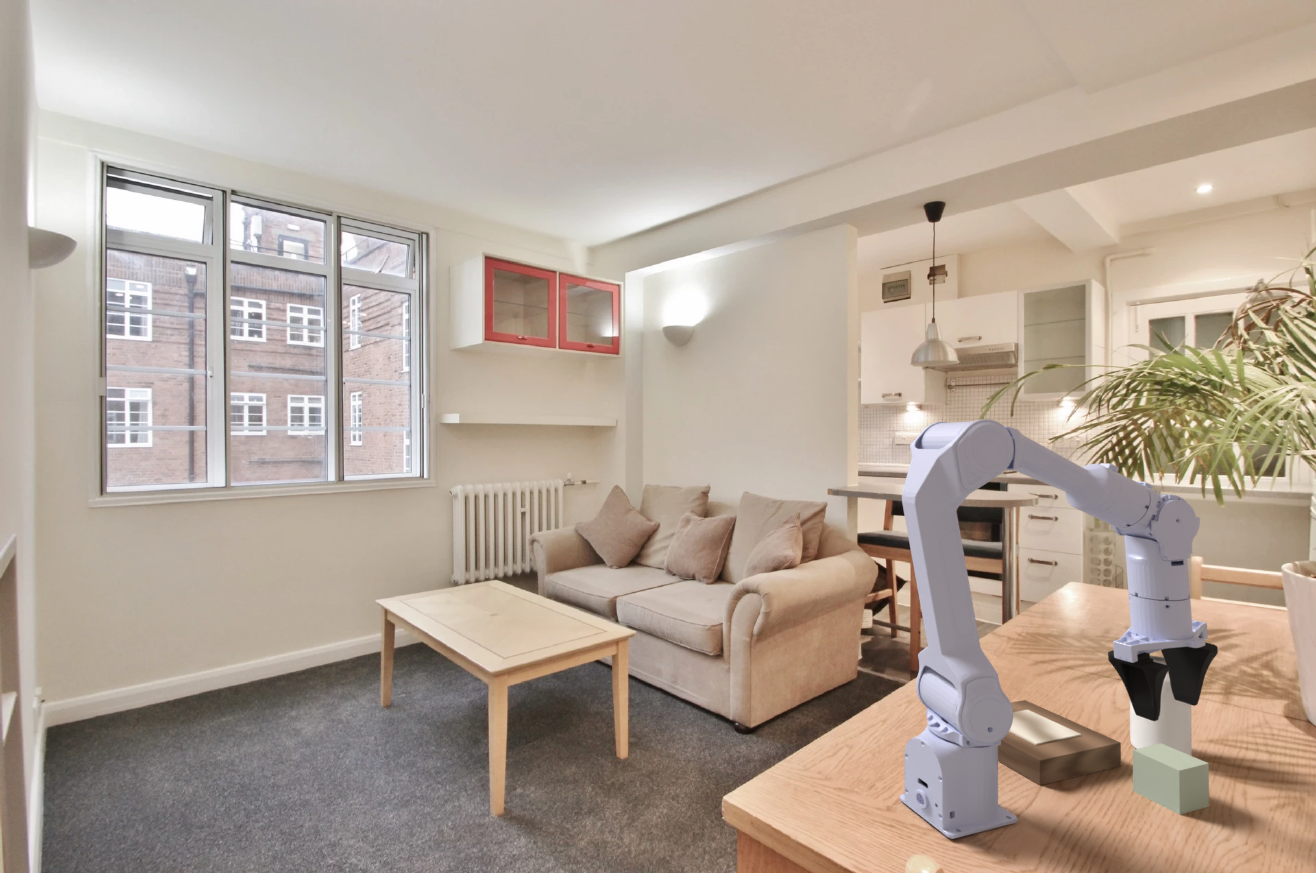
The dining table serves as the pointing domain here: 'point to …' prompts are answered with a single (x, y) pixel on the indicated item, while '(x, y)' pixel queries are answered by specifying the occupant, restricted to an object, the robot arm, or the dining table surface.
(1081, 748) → the base
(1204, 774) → the cube
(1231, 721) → the dining table surface
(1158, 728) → the can
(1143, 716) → the robot arm
